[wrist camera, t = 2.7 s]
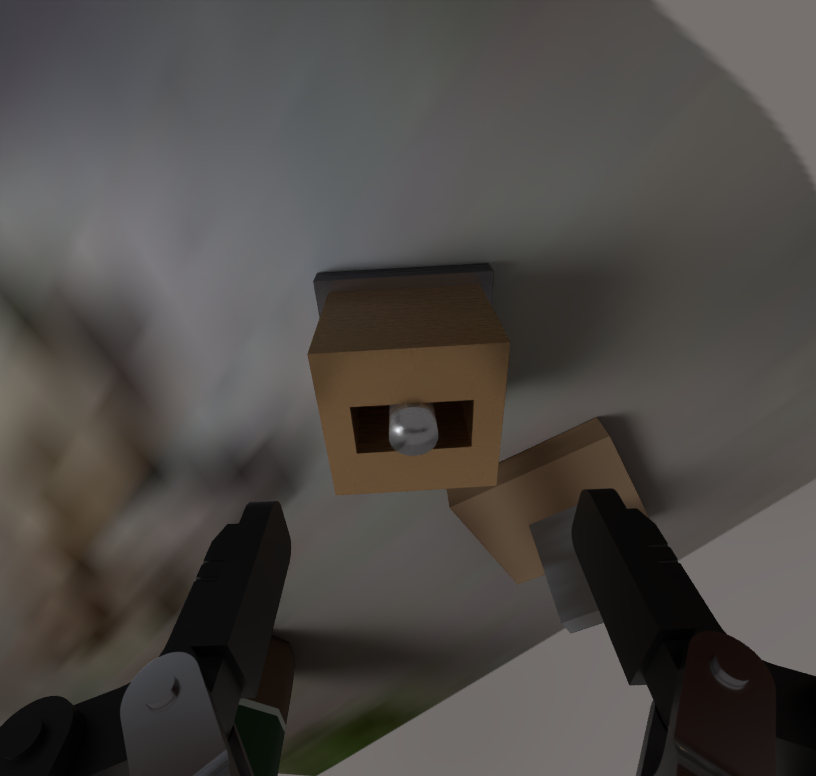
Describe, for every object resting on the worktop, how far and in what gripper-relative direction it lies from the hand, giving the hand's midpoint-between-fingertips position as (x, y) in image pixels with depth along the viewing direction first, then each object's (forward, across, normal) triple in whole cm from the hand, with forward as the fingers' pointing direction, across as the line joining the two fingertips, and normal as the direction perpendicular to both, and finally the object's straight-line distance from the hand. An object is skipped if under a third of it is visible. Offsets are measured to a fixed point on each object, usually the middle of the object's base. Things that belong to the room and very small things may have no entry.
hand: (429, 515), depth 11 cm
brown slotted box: (+8, 0, 0) cm, 8 cm away
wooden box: (+10, -8, +10) cm, 16 cm away
